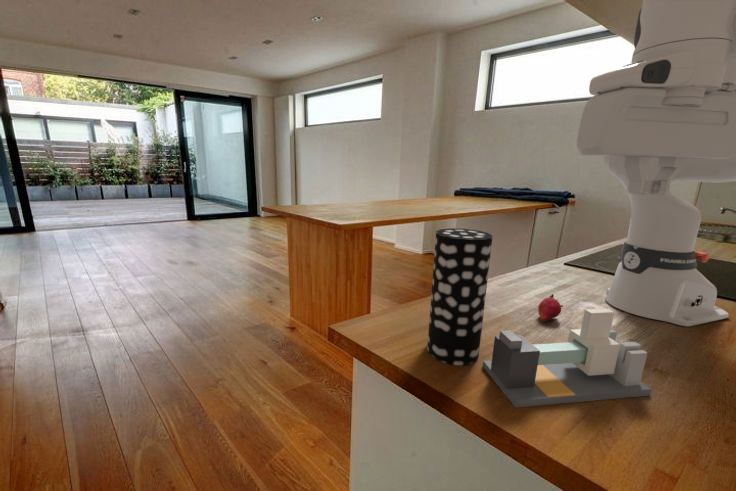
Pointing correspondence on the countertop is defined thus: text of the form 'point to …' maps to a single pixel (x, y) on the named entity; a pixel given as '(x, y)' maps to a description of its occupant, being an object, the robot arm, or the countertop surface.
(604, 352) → the sleeve
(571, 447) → the countertop surface
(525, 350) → the block
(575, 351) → the pale teal rod
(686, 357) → the countertop surface
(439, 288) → the white-spotted black cylinder
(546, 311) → the fruit
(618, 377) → the gray notched block
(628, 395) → the board
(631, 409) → the countertop surface
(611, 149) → the robot arm
